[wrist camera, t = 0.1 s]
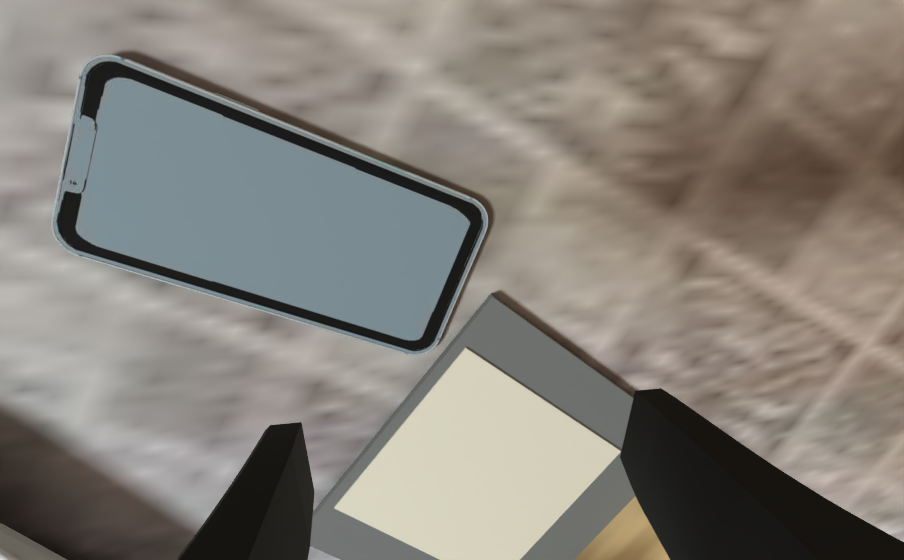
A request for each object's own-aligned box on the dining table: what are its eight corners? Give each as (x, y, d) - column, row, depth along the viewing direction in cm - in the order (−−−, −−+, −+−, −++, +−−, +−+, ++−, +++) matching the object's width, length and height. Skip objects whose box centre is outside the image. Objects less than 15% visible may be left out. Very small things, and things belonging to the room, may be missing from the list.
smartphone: (430, 362, 21) (45, 248, 17) (428, 353, 22) (59, 242, 18) (497, 206, 19) (85, 40, 16) (492, 202, 20) (99, 44, 16)
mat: (585, 663, 29) (588, 672, 29) (296, 532, 23) (295, 540, 23) (762, 490, 27) (769, 496, 26) (490, 293, 21) (493, 297, 20)
